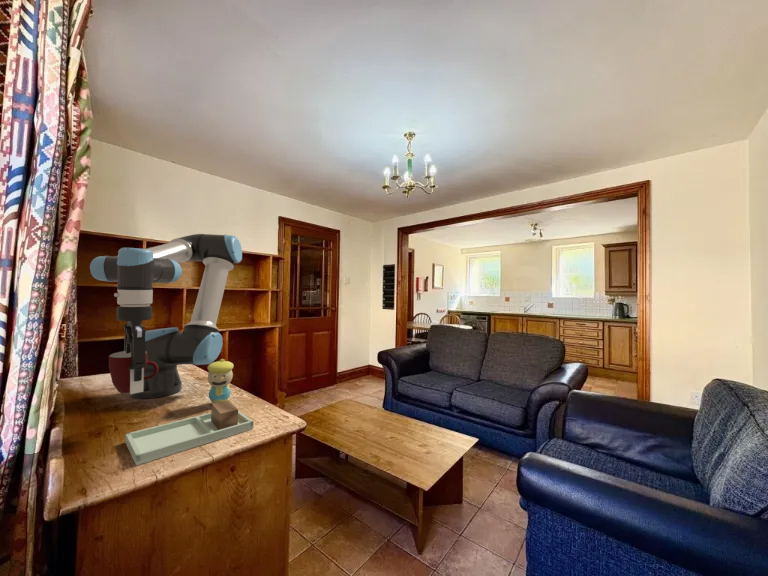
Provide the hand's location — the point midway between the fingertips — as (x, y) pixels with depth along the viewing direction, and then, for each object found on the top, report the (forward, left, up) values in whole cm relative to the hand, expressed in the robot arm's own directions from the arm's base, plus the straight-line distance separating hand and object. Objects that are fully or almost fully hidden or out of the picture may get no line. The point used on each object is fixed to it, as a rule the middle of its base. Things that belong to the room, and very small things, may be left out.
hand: (133, 388), depth 84 cm
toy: (-4, +24, -11) cm, 26 cm away
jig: (+15, +11, -11) cm, 21 cm away
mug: (0, 0, -1) cm, 1 cm away
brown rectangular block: (+15, +18, -10) cm, 26 cm away
